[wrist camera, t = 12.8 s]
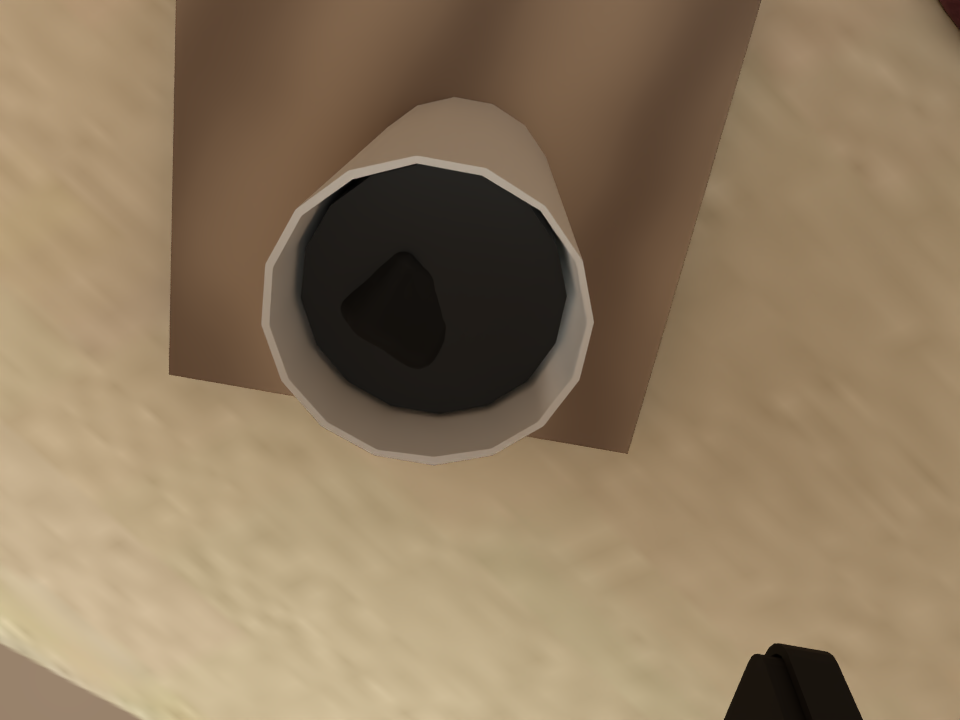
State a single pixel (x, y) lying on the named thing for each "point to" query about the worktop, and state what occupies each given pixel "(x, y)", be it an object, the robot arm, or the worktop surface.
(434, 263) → the white coffee cup
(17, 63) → the worktop surface
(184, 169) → the walnut board
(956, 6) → the vegetable
